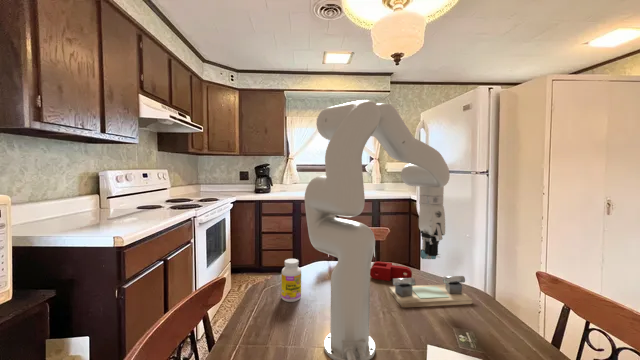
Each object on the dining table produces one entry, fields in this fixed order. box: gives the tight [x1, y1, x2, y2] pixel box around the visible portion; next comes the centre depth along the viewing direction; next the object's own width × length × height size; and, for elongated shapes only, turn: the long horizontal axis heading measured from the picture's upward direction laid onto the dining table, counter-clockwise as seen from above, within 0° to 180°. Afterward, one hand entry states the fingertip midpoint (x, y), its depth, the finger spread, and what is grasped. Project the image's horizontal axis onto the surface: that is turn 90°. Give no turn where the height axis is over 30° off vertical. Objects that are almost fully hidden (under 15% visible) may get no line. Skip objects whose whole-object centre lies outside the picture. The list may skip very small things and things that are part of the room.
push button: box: [419, 229, 441, 260], centre depth 97 cm, size 7×5×10 cm
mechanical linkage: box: [370, 260, 413, 282], centre depth 114 cm, size 16×7×5 cm, turn 70°
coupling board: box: [388, 283, 474, 308], centre depth 98 cm, size 12×24×2 cm, turn 96°
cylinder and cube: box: [392, 275, 466, 297], centre depth 97 cm, size 5×25×5 cm, turn 96°
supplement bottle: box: [280, 258, 302, 303], centre depth 96 cm, size 7×7×13 cm
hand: (429, 253), depth 97 cm, fingers closed on push button, 3 cm apart
